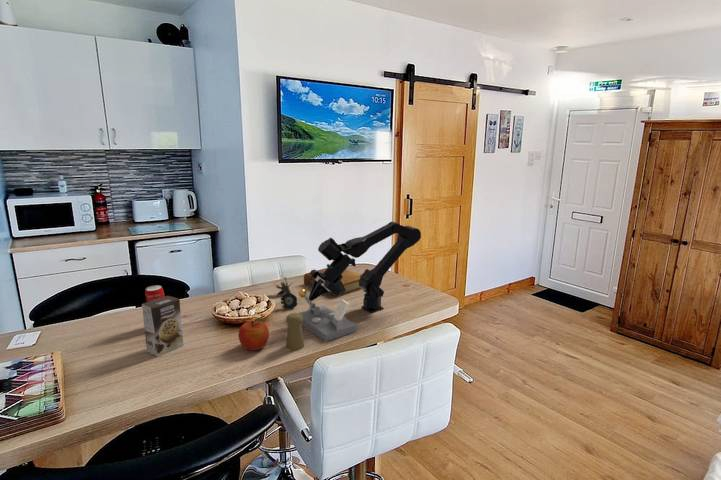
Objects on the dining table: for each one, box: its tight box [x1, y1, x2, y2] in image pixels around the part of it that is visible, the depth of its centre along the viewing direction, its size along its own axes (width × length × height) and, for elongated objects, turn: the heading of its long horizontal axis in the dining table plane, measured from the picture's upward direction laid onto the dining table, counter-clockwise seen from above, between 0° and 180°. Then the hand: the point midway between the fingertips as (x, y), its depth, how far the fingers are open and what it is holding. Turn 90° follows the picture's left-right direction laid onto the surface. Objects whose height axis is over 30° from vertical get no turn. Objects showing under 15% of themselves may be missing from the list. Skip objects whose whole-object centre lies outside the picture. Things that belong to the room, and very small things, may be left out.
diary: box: [303, 267, 363, 298], centre depth 189 cm, size 23×19×6 cm
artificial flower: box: [273, 276, 298, 310], centre depth 172 cm, size 9×22×10 cm, turn 10°
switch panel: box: [298, 302, 358, 343], centre depth 147 cm, size 13×21×6 cm, turn 38°
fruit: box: [238, 317, 270, 351], centre depth 131 cm, size 10×10×10 cm
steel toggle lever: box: [297, 288, 317, 312], centre depth 150 cm, size 3×3×11 cm
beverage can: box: [144, 284, 166, 302], centre depth 144 cm, size 6×6×15 cm
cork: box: [285, 312, 305, 351], centre depth 132 cm, size 6×6×11 cm
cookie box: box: [141, 295, 184, 357], centre depth 128 cm, size 9×6×16 cm
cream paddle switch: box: [330, 298, 351, 326], centre depth 142 cm, size 2×4×9 cm, turn 28°
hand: (309, 300), depth 151 cm, fingers closed, pressing on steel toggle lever
